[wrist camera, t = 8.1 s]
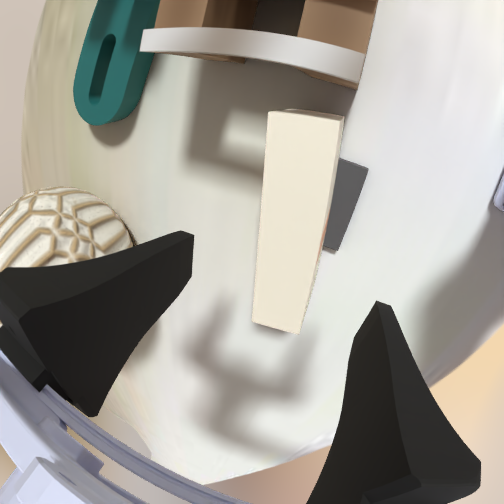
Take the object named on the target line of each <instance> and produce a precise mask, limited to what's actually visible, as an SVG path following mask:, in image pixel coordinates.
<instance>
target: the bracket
mask: <svg viewBox="0 0 504 504" xmlns="http://www.w3.org/2000/svg"><path fill="white" fill-rule="evenodd" d="M159 4H160V0H98V2H97V5H96V7H95V10H94V13H93V15H92V18H91V21H90V24H89V27H88V30H87V34H86V37H85V40H84V44H83V47H82V51H81V54H80V58H79V62H78V66H77V70H76V75H75V80H74V87H73V95H74V102H75V106H76V109H77V111H78V113H79V115H80V116H81V117H82V119H83V120H84V121H86V122H87V123H89V124H91V125H103V124H107V123H111V122H115V121H119V120H122V119H124V118H126V117H127V116H128V115H129V114H130V113H131V112H132V111H133V110H134V109H135V107H136V106H137V104H138V102H139V100H140V97H141V94H142V91H143V88H144V84H145V81H146V78H147V75H148V72H149V69H150V66H151V63H152V60H153V57H154V54H155V53H153V52H140V46H141V40H142V35H143V30H145V29H154V27H155V22H156V18H157V13H158V9H159Z"/></svg>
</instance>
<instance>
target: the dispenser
mask: <svg viewBox="0 0 504 504" xmlns="http://www.w3.org/2000/svg"><path fill="white" fill-rule="evenodd" d="M258 1H259V0H160V4H159V9H158V13H157V18H156V22H155V27H154V29H145V30H143V35H142V40H141V46H140V52H153V53H163V54H172V55H180V56H187V57H194V58H200V59H206V60H217V61H226V62H234V63H242V64H244V63H245V58H251V59H258V60H264V61H270V62H275V63H281V64H286V65H290V66H292V67H294V68H296V69H298V70H300V71H302V72H304V73H305V74H307V75H309V76H311V77H313V78H317V79H321V80H324V81H328V82H331V83H335V84H338V85H342V86H345V87H348V88H351V89H354V90H357V89H358V85H359V81H360V78H361V74H362V70H363V66H364V61H365V57H366V53H367V49H368V45H369V40H370V36H371V31H372V27H373V22H374V17H375V13H376V8H377V3H378V0H306V1H305V5H304V9H303V13H302V18H301V22H300V26H299V31H298V35H297V37H294V36H289V35H283V34H276V33H269V32H262V31H253V30H252V27H253V22H254V18H255V14H256V9H257V5H258Z"/></svg>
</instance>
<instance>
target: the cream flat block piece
mask: <svg viewBox="0 0 504 504" xmlns="http://www.w3.org/2000/svg"><path fill="white" fill-rule="evenodd" d="M344 117H345V116H340V115H335V114H329V113H323V112H316V111H310V110H302V109H286V110H278V111H271V112H268V122H267V136H266V149H265V162H264V175H263V188H262V201H261V214H260V226H259V239H258V251H257V264H256V276H255V288H254V300H253V312H252V322H255V323H258V324H262V325H265V326H269V327H272V328H276V329H279V330H283V331H287V332H290V333H294V334H298V335H299V333H300V330H301V326H302V323H303V320H304V317H305V314H306V310H307V307H308V304H309V300H310V297H311V294H312V290H313V287H314V283H315V279H316V275H317V271H318V266H319V262H320V257H321V252H322V248H323V243H324V238H325V233H326V228H327V223H328V218H329V213H330V207H331V202H332V196H333V190H334V185H335V179H336V173H337V166H338V160H339V153H340V147H341V140H342V132H343V125H344Z"/></svg>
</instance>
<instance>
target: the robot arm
mask: <svg viewBox="0 0 504 504" xmlns="http://www.w3.org/2000/svg"><path fill="white" fill-rule="evenodd" d="M493 203H494V205H495V206H496V207H497V208H498V209H500V210H501V211H503V212H504V207H503V203H504V174H503V176H502V179H501V182H500V184H499V187H498V189H497V191H496V194H495V196H494V199H493ZM193 246H194V235H192V234H190V233H187V232H184V231H177V232H173V233H170V234H167V235H165V236H162V237H159V238H156V239H153V240H151V241H148V242H145V243H142V244H139V245H137V246H134V247H131V248H128V249H124V250H121V251H118V252H115V253H112V254H109V255H105V256H102V257H98V258H93V259H89V260H85V261H80V262H74V263H68V264H62V265H54V266H42V267H7V268H5V269H4V270H2V271H1V272H0V321H1V323H2V324H3V325H2V326H1V327H0V443H1V445H2V446H3V448H4V449H5V450H6V452H7V453H8V455H9V456H10V457H11V459H12V460H13V462H14V463H15V464H16V466H17V467H16V468H15V470H14V471H13V472H12V474H11V475H10V477H9V478H8V479H7V481H6V482H5V483H4V485H3V486H2V488H1V489H0V504H149V503H147V502H145V501H143V500H141V499H140V498H138V497H136V496H134V495H132V494H131V493H129V492H127V491H126V490H124V489H122V488H121V487H119V486H118V485H116V484H114V483H113V482H111V481H110V480H108V479H107V478H105V477H104V476H102V475H101V474H99V471H100V469H101V468H102V467H103V465H104V463H103V462H102V461H101V460H100V459H98V458H97V457H96V456H94V455H93V454H92V453H91V452H90V451H88V450H87V449H86V448H85V447H84V446H83V445H81V444H80V443H79V442H78V441H76V440H75V439H74V438H72V436H70V435H69V434H68V433H67V426H69V427H70V428H71V429H72V430H73V431H74V432H76V433H77V434H78V435H79V436H81V437H82V438H83V439H84V440H86V441H87V442H88V443H90V444H91V445H92V446H94V447H95V448H96V449H98V450H99V451H101V452H102V453H103V454H105V455H106V456H108V457H109V458H111V459H112V460H114V461H115V462H117V463H118V464H120V465H122V466H123V467H125V468H126V469H128V470H130V471H131V472H133V473H134V474H136V475H138V476H139V477H141V478H143V479H145V480H146V481H148V482H150V483H152V484H154V485H155V486H157V487H159V488H161V489H163V490H165V491H167V492H169V493H171V494H173V495H175V496H177V497H179V498H181V499H184V500H186V501H188V502H190V503H192V504H251V503H248V502H245V501H242V500H239V499H236V498H233V497H231V496H228V495H225V494H223V493H220V492H217V491H215V490H212V489H210V488H208V487H205V486H203V485H201V484H198V483H196V482H194V481H191V480H189V479H187V478H185V477H183V476H181V475H179V474H177V473H175V472H173V471H171V470H169V469H167V468H165V467H163V466H161V465H159V464H157V463H156V462H154V461H152V460H150V459H148V458H147V457H145V456H143V455H141V454H140V453H138V452H136V451H134V450H133V449H131V448H130V447H128V446H127V445H125V444H124V443H122V442H120V441H119V440H117V439H116V438H114V437H113V436H111V435H110V434H109V433H107V432H106V431H104V430H103V429H101V428H100V427H99V426H97V425H96V424H94V423H93V422H92V421H90V420H89V419H88V418H86V417H85V416H84V415H83V414H81V413H80V412H79V411H78V410H76V409H75V408H74V407H72V406H71V405H70V404H69V403H71V404H72V405H74V406H75V407H76V408H78V409H79V410H80V411H81V412H83V413H84V414H85V415H87V416H88V417H95V416H97V415H98V413H99V411H100V409H101V407H102V405H103V402H104V400H105V398H106V396H107V394H108V392H109V390H110V389H111V387H112V385H113V383H114V381H115V380H116V378H117V376H118V374H119V372H120V371H121V369H122V368H123V366H124V364H125V363H126V361H127V359H128V358H129V356H130V355H131V353H132V352H133V350H134V349H135V347H136V346H137V344H138V343H139V341H140V340H141V339H142V337H143V336H144V335H145V334H146V332H147V331H148V330H149V329H150V328H151V327H152V325H153V324H154V323H155V322H156V321H157V320H158V319H159V317H160V316H161V315H162V314H163V313H164V312H165V311H166V310H167V308H168V307H169V306H170V305H171V304H172V303H173V302H174V300H175V299H176V298H177V297H178V296H179V294H180V293H181V291H182V290H183V289H184V287H185V286H186V284H187V282H188V281H189V279H190V278H191V276H192V261H193ZM66 400H67V401H68V402H69V403H68V402H67V401H66ZM66 425H67V426H66ZM480 481H481V461H480V460H479V459H478V458H477V457H476V456H475V455H474V453H472V451H471V450H470V449H469V448H468V447H467V445H466V444H465V443H464V442H463V441H462V439H461V438H460V437H459V435H458V434H457V433H456V431H455V430H454V429H453V427H452V426H451V424H450V423H449V421H448V420H447V418H446V417H445V415H444V414H443V412H442V411H441V409H440V408H439V406H438V405H437V403H436V401H435V399H434V397H433V396H432V394H431V392H430V390H429V388H428V387H427V385H426V383H425V381H424V379H423V377H422V375H421V373H420V371H419V369H418V367H417V364H416V362H415V360H414V358H413V356H412V354H411V351H410V349H409V347H408V344H407V342H406V340H405V337H404V335H403V333H402V330H401V328H400V325H399V323H398V321H397V318H396V316H395V314H394V311H393V309H392V307H391V306H390V305H387V304H384V303H381V302H379V301H376V302H375V304H374V306H373V307H372V309H371V311H370V312H369V314H368V316H367V317H366V319H365V321H364V322H363V324H362V325H361V327H360V329H359V330H358V332H357V333H356V335H355V337H354V340H353V344H352V348H351V352H350V357H349V361H348V369H347V377H346V384H345V391H344V398H343V405H342V411H341V415H340V420H339V424H338V427H337V430H336V433H335V437H334V440H333V443H332V446H331V449H330V451H329V454H328V457H327V459H326V462H325V464H324V467H323V469H322V472H321V474H320V476H319V479H318V481H317V483H316V485H315V487H314V490H313V491H312V493H311V495H310V497H309V499H308V501H307V503H306V504H447V503H450V502H453V501H455V500H458V499H461V498H464V497H466V496H468V495H470V494H472V493H474V492H475V491H476V490H477V489H478V488H479V487H480Z"/></svg>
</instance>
